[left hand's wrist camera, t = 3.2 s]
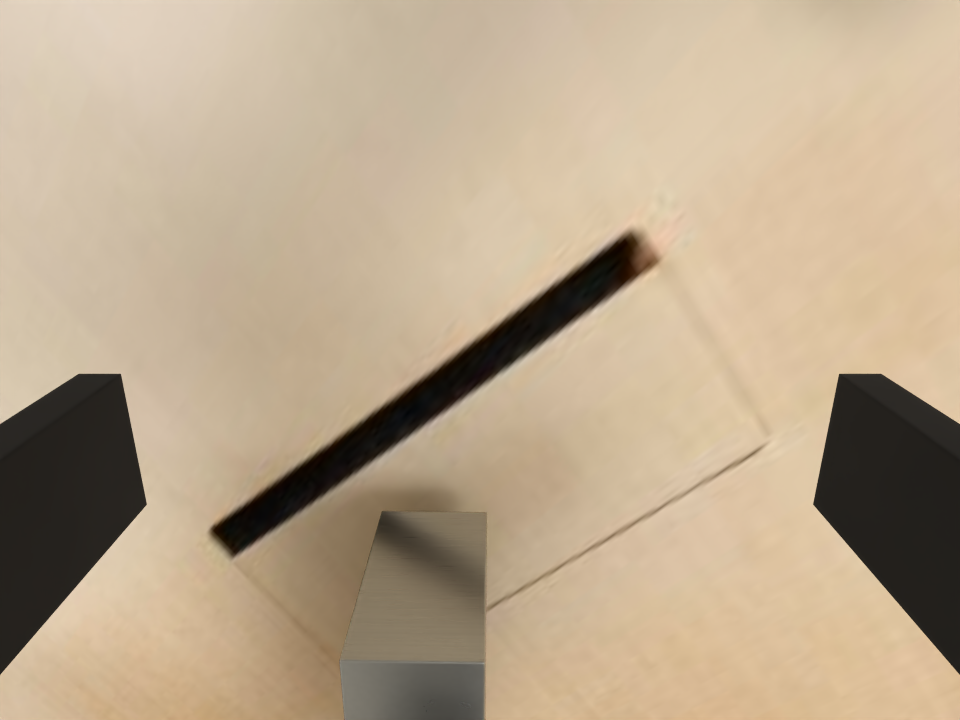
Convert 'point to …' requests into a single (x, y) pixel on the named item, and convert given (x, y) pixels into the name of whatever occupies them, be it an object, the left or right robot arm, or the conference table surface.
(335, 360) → the conference table surface
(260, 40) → the conference table surface
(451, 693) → the box
